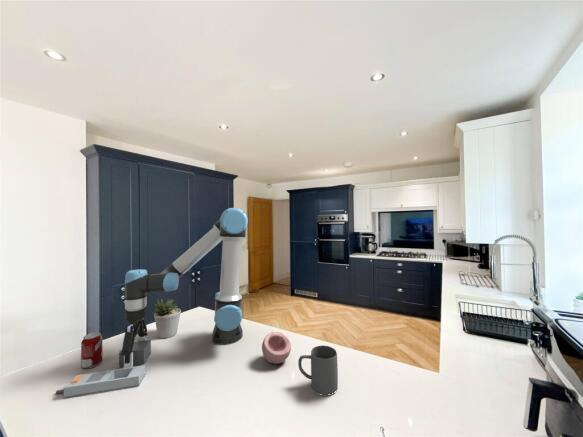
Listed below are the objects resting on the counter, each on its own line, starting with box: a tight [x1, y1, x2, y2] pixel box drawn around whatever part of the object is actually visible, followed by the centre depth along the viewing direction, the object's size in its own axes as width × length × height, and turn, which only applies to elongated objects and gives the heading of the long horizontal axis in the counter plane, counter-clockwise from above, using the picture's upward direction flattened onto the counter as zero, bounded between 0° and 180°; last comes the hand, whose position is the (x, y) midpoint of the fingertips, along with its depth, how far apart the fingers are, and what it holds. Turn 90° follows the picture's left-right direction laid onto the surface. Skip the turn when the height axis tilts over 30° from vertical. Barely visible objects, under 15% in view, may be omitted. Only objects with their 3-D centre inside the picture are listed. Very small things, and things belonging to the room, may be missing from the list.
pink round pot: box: [261, 331, 292, 365], centre depth 98 cm, size 12×12×11 cm
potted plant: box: [149, 298, 182, 339], centre depth 124 cm, size 13×14×20 cm
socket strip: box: [55, 364, 147, 399], centre depth 84 cm, size 26×7×4 cm, turn 105°
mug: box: [297, 345, 339, 396], centre depth 82 cm, size 14×9×12 cm
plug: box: [118, 339, 152, 369], centre depth 96 cm, size 9×8×8 cm
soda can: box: [80, 331, 104, 369], centre depth 98 cm, size 7×7×12 cm
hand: (135, 360), depth 96 cm, fingers open, 13 cm apart
